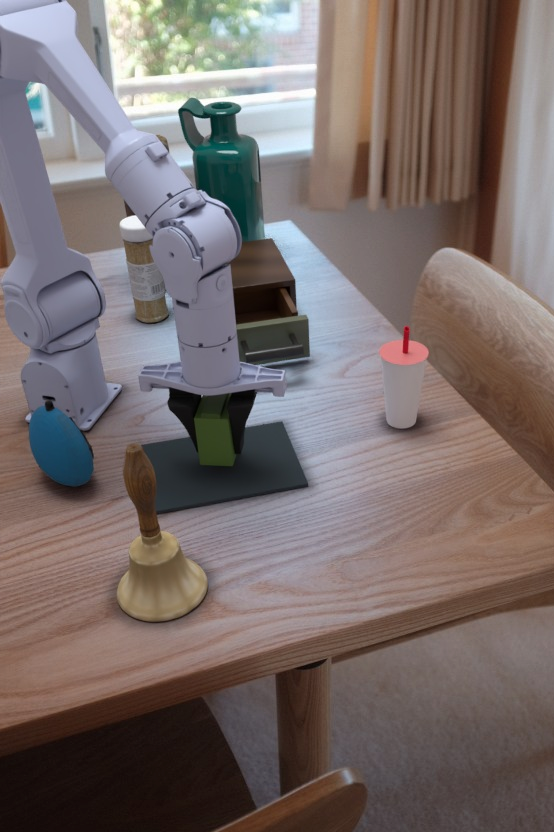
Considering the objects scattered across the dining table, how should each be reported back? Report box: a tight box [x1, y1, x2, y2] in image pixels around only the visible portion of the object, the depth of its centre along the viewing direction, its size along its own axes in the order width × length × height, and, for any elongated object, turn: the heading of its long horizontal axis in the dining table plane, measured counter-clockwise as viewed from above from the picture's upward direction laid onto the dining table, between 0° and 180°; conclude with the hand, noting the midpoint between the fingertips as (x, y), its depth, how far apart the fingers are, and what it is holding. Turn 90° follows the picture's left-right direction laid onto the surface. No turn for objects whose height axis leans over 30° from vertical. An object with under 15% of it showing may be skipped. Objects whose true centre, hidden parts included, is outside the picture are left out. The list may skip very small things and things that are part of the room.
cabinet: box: [225, 237, 298, 310], centre depth 122 cm, size 14×12×7 cm
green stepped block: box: [194, 393, 236, 466], centre depth 94 cm, size 5×4×6 cm
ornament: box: [28, 400, 95, 488], centre depth 93 cm, size 8×5×10 cm, turn 53°
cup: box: [378, 325, 430, 430], centre depth 100 cm, size 5×5×12 cm
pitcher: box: [177, 97, 266, 242], centre depth 132 cm, size 10×8×22 cm
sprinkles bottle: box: [119, 215, 169, 324], centre depth 120 cm, size 5×5×13 cm
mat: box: [140, 421, 309, 515], centre depth 97 cm, size 12×16×1 cm
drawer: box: [233, 287, 311, 366], centre depth 114 cm, size 17×10×5 cm, turn 16°
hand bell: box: [116, 442, 209, 623], centre depth 78 cm, size 8×8×16 cm
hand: (220, 447), depth 96 cm, fingers closed on green stepped block, 3 cm apart
